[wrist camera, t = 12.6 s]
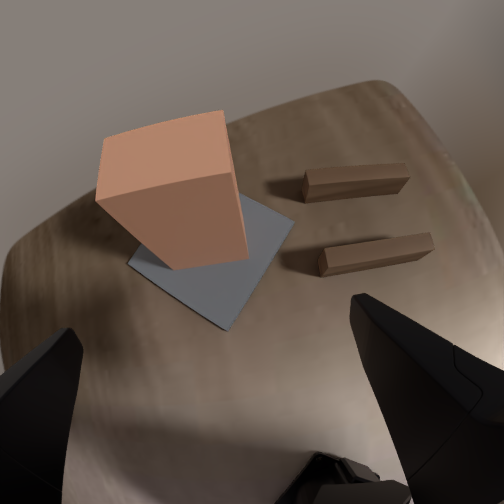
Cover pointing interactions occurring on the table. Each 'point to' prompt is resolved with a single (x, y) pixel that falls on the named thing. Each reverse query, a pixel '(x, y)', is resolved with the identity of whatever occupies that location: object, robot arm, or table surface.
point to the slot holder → (353, 186)
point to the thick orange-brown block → (176, 190)
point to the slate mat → (222, 268)
